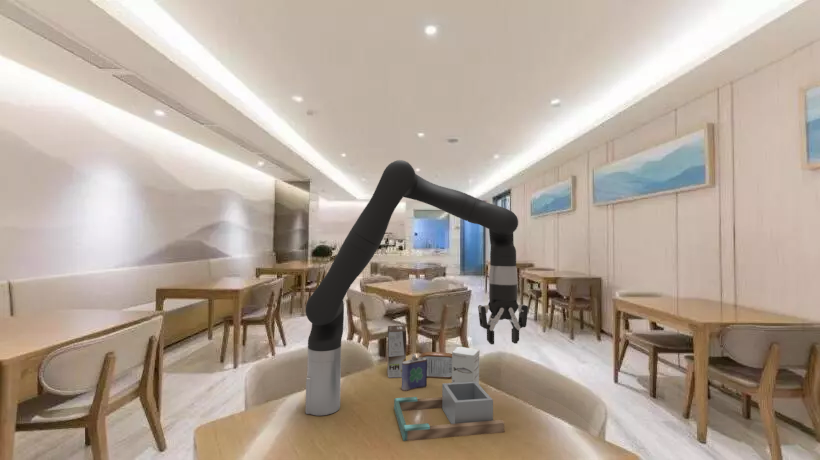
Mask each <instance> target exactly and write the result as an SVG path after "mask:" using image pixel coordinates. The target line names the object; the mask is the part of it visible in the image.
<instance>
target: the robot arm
mask: <svg viewBox="0 0 820 460" xmlns="http://www.w3.org/2000/svg"><path fill="white" fill-rule="evenodd" d="M403 198H406V199H409V200H414V201H418V202H421V203H425V204H426V205H430V206H432V207H435V208H436V209H439V210H441V211H443V212H445V213H447V214H450V215H452V216H453V217H456V218H458V219H461V220H463V221H466V222H468V223H471V224H475V225H479V226H482V227H484V228H486V229H488V232H489V233H488V234H489V243H490V251H489V256H490V257H489V258H490V259H489V260H490V261H489V264H490V266H489V273H488V283H489V284H488V286H489V287H488V294H489V297H488V299H489V301H488V304H486V305H481V304H479V305H478V306H477V308H478V309H477V310H478V317H479V318H478V319H479V326H480V327H481V328H483V329H486V340H487V342H488V344H490V345H495V330H494V329H495V327H496V326H497V324H498V323H499V321H503V320H506V321H507V320H508V321H509V323H510V325H511V327H512V328H511V343H513V344H518V342H519V341H520V330H521V328H526V327H527V321H528V311H529V306H528V305H527V304H523V303H521V304H518V270H517V250H516V246H515V244H514V232H515V231H516V230H517V229H518V226H519V219H518V216H517V215H516V214H515V213H514V212H513V211H512V210H510V209H509V208H505V207H503V206H500V205H496V204H492V203H489V202H486V201H484V200H481V199H480V198H477V197H475V196H473V195H470V194H468V193H466V192H463V191H459V190H457V189H454V188H453V189H452V188H449V187H445V186H441V185H438V184H435V183H433V182H430V181H428V180H427V179H425V178H423V177H422V176H420V175H418V174H417V173H416V171H415V169H414V167H413V166H412V164H410V163H409V162H408V161H406V160H403V159H398V160H394V161H393V162H391V163H389V164H388V165H387V166H386V167H385V169H383V172H382V175H381V177H380V179H379V181H378V183H377V185H376V188H375V190H374V192H373V194H372V195H371V197H370V200H369V202H368V203H367V204H366V205H365V207H364V208H363V210H362V212H361V213H360V215H359V217H358V218H356V219H357V220H355V223H354V224H353V225H352V227H351V229H350V231H348V234H347V235H346V237H345V239H344V241H343V243H341V244H342V245H341V246H340V247H339V250H338V252H337V253H336V255H335V258H334V260H333V262H332V264H331V265H330V268H329V270H328V271H327V273H326V275H325V276H324V278H323V279H322V280H321V282H320V283H319V284H318V286H317V287H316V288H315V290H314V291H313V292H312V294H311V295H310V296H309V298H308V299H307V302H306V304H305V315H306V318H307V319H308V321H309V323H311V330H310V333H309V335H308V338H307V374H306V378H305V414H306V415H312V416H328V415H331V414H334V413H336V412H338V411H339V410H340V408H341V381H342V380H341V377H342V375H341V373H342V372H341V371H342V370H341V369H342V340H343V333H344V317H345V306H344V305H345V302H344V299H345V297H346V295H347V293H348V291H349V289H350V288H351V286H352V284H353V283H354V282H355V280H356V279H357V278H358V277H359V276H360V275H361V273H362V272H363V271H364V270H365V268H366V267H367V266H368V264H369V263H370V262H371V260H372V258H373V257H374V256H375V254H376V252H377V250H378V249H379V248H380V245H381V244H382V242H383V240H384V237H385V234H386V232H387V230H388V227H389V224H390V221H391V219H392V216H393V214H394V211H395V209H396V208H397V207H398V205H399V204H400V202H401V200H402V199H403ZM517 311H518V318H517V316H516V313H517ZM488 312H490V315H489V317H488V319H487V314H488Z"/></svg>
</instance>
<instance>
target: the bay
mask: <svg viewBox="0 0 820 460" xmlns="http://www.w3.org/2000/svg"><path fill="white" fill-rule="evenodd" d="M393 402H394V403H393V409H394V410H393V411H394V412H395V416H396V421H397V424H398V428H399V431H400V435H401V437H402V442H409V441H417V440H419V441H420V440H430V439H441V438H443V439H444V438H450V437H451V438H452V437H465V436H475V435H485V434H500V433H505V422H504V420H502V419H496V420H494V419H493V421H482V422H470V423H457V424H451V423H450V424H449V423H448V424H436V425H434V424H433V425H430V424H429V422H428V423H415V424H407V423H406V420H405V417H404V413H403V411H413V410H414V411H416V410H428V409H429V410H430V409H441V408H442V396H440V397H427V398H426V397H425V398H418V397H417V396H411V397H409V396H408V397H407V396H406V397H396V398H394V399H393Z"/></svg>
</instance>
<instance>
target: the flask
mask: <svg viewBox="0 0 820 460" xmlns="http://www.w3.org/2000/svg"><path fill="white" fill-rule="evenodd" d="M410 356H412V357H411V359H408V360H406V361H404V362H402V377H401V390H402V391H403V392H407V391H411V390H414V389H423V388H427V387H428V385H427V383H428V382H427V380H428V377H427V359H426V358H422V357H420V358H418V357H417V355H416V354H415V353H412V354H411V355H410Z"/></svg>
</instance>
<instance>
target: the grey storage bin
mask: <svg viewBox="0 0 820 460" xmlns="http://www.w3.org/2000/svg"><path fill="white" fill-rule="evenodd" d="M441 384H442V386H441V387H442V390H441V391H442V394H441V395H442V396H441V397H442V411H443V412H444V414H445V416H446V418H447V420H448V422H449V423H450V424H457V423H470V422H482V421H494V400H493V398H492V397H491V395H489V394H488V393H487V392H486V391H485V390H484V388H483V387H482V386H481V385H480V383H479V384H478V383H477V382H460V383H452V382H447V383H446V382H445V383H444V382H443V383H441Z"/></svg>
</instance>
